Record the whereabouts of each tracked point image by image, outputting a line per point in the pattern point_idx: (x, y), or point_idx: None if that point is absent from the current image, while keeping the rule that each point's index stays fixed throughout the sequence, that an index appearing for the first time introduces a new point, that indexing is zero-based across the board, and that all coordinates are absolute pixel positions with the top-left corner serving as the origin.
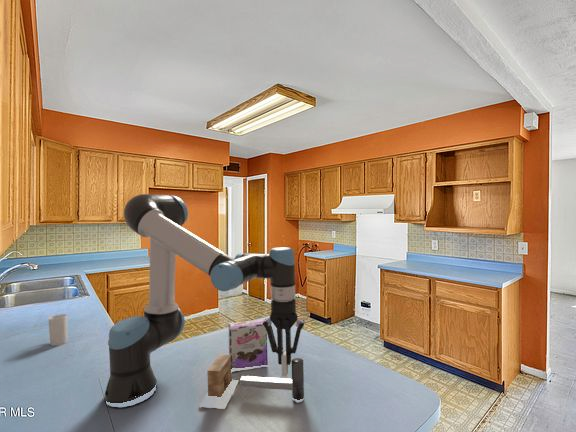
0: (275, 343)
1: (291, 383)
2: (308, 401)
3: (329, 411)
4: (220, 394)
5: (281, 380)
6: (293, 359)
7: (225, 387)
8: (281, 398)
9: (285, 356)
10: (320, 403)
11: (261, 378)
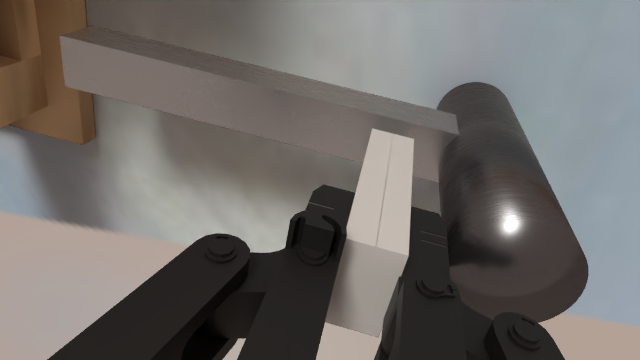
0: (200, 318)
1: (431, 180)
2: (533, 132)
3: (624, 228)
4: (20, 118)
5: (359, 137)
6: (475, 240)
7: (12, 26)
8: (371, 83)
9: (371, 328)
10: (603, 160)
11: (207, 91)
